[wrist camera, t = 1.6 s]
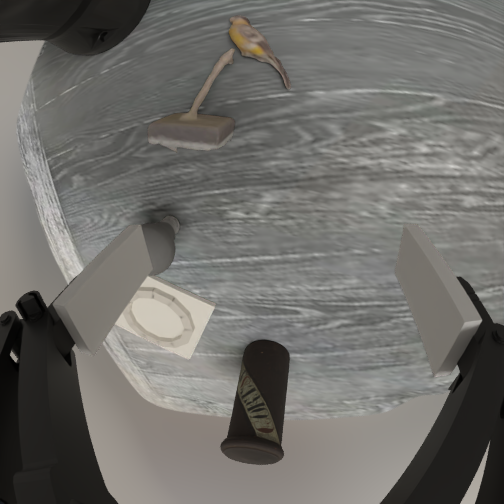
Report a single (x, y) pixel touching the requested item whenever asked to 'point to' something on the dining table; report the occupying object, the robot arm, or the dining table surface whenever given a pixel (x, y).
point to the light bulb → (161, 242)
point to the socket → (167, 316)
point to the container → (259, 405)
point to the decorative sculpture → (206, 126)
